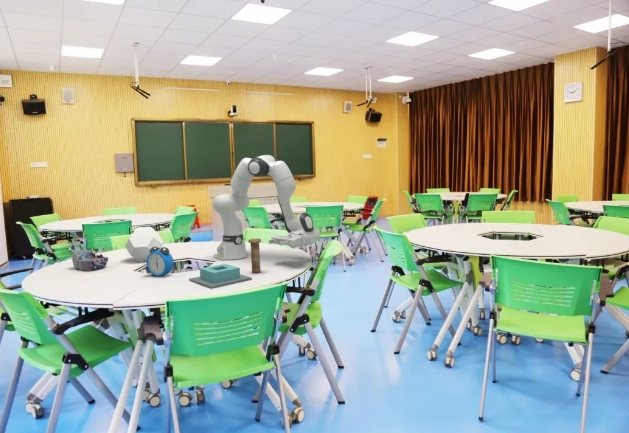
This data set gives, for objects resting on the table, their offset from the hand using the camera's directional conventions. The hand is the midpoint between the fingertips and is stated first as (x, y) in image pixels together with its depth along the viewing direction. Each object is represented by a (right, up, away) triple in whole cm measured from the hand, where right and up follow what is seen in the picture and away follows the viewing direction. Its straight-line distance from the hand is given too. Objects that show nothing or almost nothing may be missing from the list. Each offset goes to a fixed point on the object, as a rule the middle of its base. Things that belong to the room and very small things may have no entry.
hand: (274, 242), depth 241 cm
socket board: (-25, -17, -20) cm, 36 cm away
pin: (-9, -15, -6) cm, 18 cm away
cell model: (-107, -16, +17) cm, 109 cm away
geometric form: (-82, -13, +36) cm, 90 cm away
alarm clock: (-58, -17, -5) cm, 61 cm away
